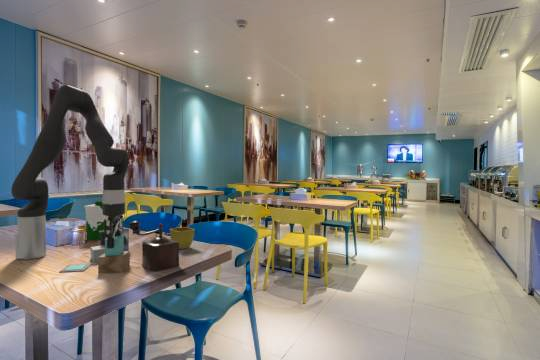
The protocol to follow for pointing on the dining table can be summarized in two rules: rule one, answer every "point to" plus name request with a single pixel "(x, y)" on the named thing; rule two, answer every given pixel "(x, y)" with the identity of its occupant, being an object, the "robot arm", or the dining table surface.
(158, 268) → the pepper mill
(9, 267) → the dining table surface
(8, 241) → the dining table surface
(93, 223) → the milk carton
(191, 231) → the flower pot
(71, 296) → the dining table surface
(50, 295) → the dining table surface
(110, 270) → the walnut base
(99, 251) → the grey block
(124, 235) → the small box
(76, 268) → the tile
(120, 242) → the teal block
